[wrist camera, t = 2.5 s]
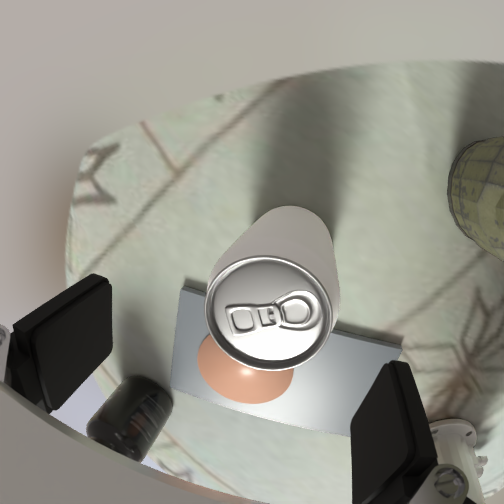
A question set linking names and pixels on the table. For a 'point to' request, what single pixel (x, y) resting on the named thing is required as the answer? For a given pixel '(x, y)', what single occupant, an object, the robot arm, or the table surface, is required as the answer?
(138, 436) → the supplement bottle
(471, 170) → the thermos
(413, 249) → the table surface
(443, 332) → the table surface
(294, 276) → the can
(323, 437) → the table surface
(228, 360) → the card
